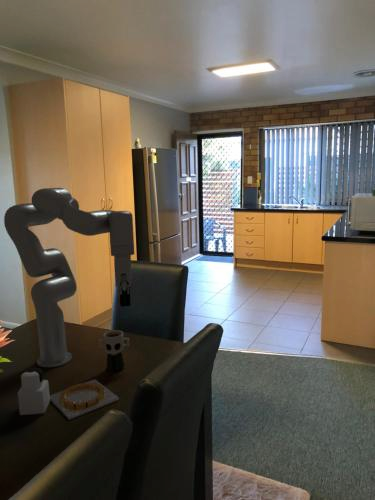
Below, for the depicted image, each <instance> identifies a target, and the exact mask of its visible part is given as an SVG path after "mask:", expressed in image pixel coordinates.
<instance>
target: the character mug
mask: <svg viewBox="0 0 375 500" xmlns="http://www.w3.org/2000/svg"><path fill="white" fill-rule="evenodd" d="M102 337H103V338H101V339H98V340H97V341H98V342H97V343H98V344H97V345H98V348H99V349H104V352H105V353H106V354H107V355H106V356H107V357H106V369H107V370H108V371H111V372H112V371H114V369H115V371H120V370H122V369H124V367H125V362H124V361H125V360H124V356H123V353H122V352H123V351H125V347H130V337H124V332H123V331H122V330H118V329H117V330H110V331H109V330H108V331H105V332H104V333H103V334H102ZM125 341H126V343H125ZM102 343H103V344H102Z"/></svg>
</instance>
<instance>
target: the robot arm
mask: <svg viewBox="0 0 375 500" xmlns="http://www.w3.org/2000/svg"><path fill="white" fill-rule="evenodd" d="M30 201H31V202H27V203H19V204H15V205H12V206H10V207H9V208H8V209H6V210H5V212H4V217H3V224H4V228H5V231H6V233H7V235H8V236H9V237H10V240H11V241H12V243H13V244H14V247H15V249H16V250H17V253H18V255H19V259H20V260H21V263H22V266H23V268H24V270H25V272H26V274H27V275H28V276H29V277H30V278H41V277H44V276H48V275H51V276H49V277H48V278H44V279H41V280H39V281H37V282H35V283H34V284H33V285H32V287H31V290H30V296H31V300H32V303H33V306H34V311H35V315H36V316H35V318H36V324H37V334H38V343H39V352H40V353H39V354H40V356H38V358H36V364H37V366H39V367H42V368H55V367H60V366H63V365H65V364H67V363H69V362H70V361H71V360H72V353H71V352H69V351H68V350H67V338H66V327H65V319H64V312H63V311H62V309H61V307H60V306H59V304H58V302H61V301H64V300H66V299H69V298H71V297H73V296H75V294H76V292H77V286H78V285H77V282H76V279H75V276H74V274H73V271H72V269H71V267H70V264H69V262H68V259H67V258H66V257H67V256H65V254H64V253H63V252H62V251H61V250H60V249H58V248H54V247H52V248H50V247H49V248H47V249H44V247H43V246H42V243H41V241H40V238H39V237H38V236H37V235H36V234H35V233H34V232H33V231H32V230H30V229H29V227H34V226H35V227H36V226H45V225H48V224H50V223H51V222H54V221H55V220H56V219H58V220H61V221H62V223H63V224H64V226H65V227H66V228H67V229H68V230H69V231H72V232H74V233H77V234H80V235H82V236H88V237H90V236H92V237H93V236H97V235H101V234H107V233H109V245H110V256H111V257H114V258H113V268H114V280H115V281H114V283H115V288H118V287H119V291H120V292H119V305H120V307H122V308H123V307H130V306H132V303H131V290H130V289H131V287H130V286H131V284H132V256H134V255H135V240H134V222H133V221H134V218H133V213H132V212H131V211H128V210H112V209H102V210H93V211H84V210H83V209H82V210H81V209H80V205H79V201H78V200H77V199H76V198H74V197H72V194H71V193H70V192H69V191H68V190H67V189H66V188H64V187H51V188H50V187H48V188H47V187H45V188H40V189H37V190H36V191H35V192H33V194H32V196H31V200H30Z"/></svg>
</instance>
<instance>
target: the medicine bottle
mask: <svg viewBox="0 0 375 500" xmlns="http://www.w3.org/2000/svg"><path fill="white" fill-rule="evenodd" d="M20 381H21V382H20V383H21V387H20V388H19V390H18V392H17V394H16V395H17V403H18V411H19V416H27V415H40V414H41V415H43V414H45V412H46V411H47V408H48V407H49V405H50V402H51V401H50V395H51V394H50V386H49V380H48V379H44V372H43V370H42V368H39V367H30V368H27V369H25V370H23V371H22V372H21V373H20Z"/></svg>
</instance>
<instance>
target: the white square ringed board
mask: <svg viewBox="0 0 375 500" xmlns="http://www.w3.org/2000/svg"><path fill="white" fill-rule="evenodd" d="M119 400H120V399H119V396H118V395H116V394H115V393H113V392H112V391H111V390H110V389H108V388H107V387H106V386H105V385H103V384H102V383H100V381H98V380H97V379H96V378H95V379H92V380H89V381H86V382H82V383H81V382H80V383H77V384H75V385H72V386H71V385H70V386H69V387H67V388H66V389H63V390H60V391H57V392H55V393H52V394H50V402H51V404H53V405H54V407H56V408H57V409H58V411H60V412H61V413H62V415H63V416H64V417H66V418H67V420H68V421H70V420H72V419H75V418H78V417H80V416H83V415H85V414H88V413H90V412H92V411H95V410H98V409H101V408H102V407H105V406H107V405H110V404H112V403H115V402H117V401H119Z"/></svg>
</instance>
